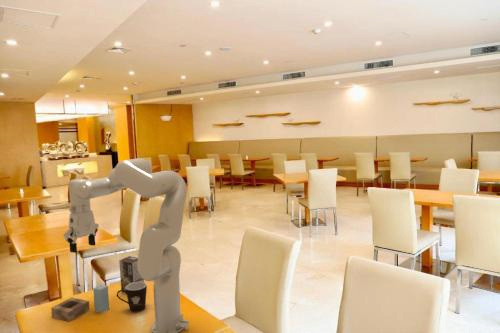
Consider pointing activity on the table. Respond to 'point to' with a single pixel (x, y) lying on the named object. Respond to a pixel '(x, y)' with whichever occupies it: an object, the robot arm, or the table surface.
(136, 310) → the coffee mug
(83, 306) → the socket block
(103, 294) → the peg
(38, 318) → the table surface
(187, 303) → the table surface
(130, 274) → the coffee box
